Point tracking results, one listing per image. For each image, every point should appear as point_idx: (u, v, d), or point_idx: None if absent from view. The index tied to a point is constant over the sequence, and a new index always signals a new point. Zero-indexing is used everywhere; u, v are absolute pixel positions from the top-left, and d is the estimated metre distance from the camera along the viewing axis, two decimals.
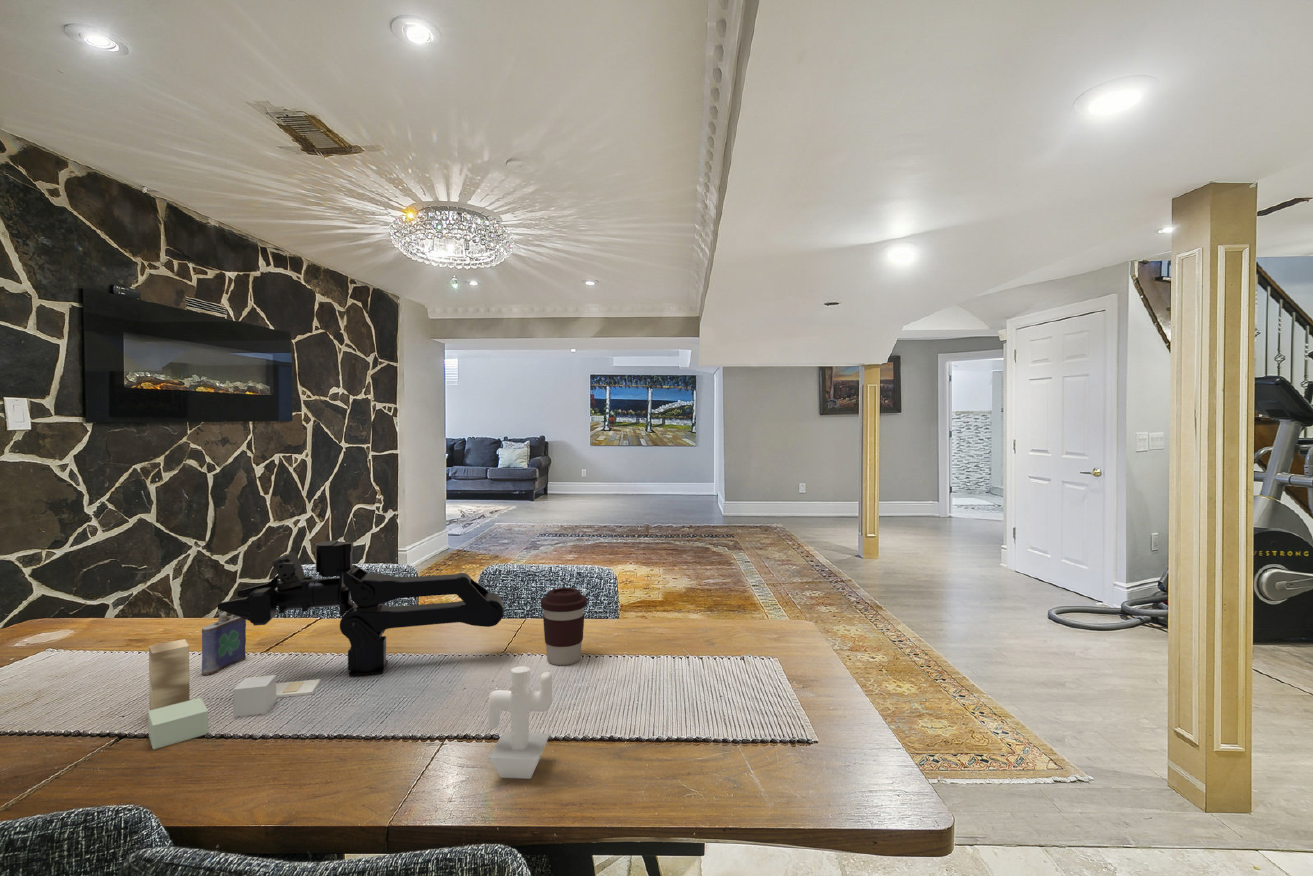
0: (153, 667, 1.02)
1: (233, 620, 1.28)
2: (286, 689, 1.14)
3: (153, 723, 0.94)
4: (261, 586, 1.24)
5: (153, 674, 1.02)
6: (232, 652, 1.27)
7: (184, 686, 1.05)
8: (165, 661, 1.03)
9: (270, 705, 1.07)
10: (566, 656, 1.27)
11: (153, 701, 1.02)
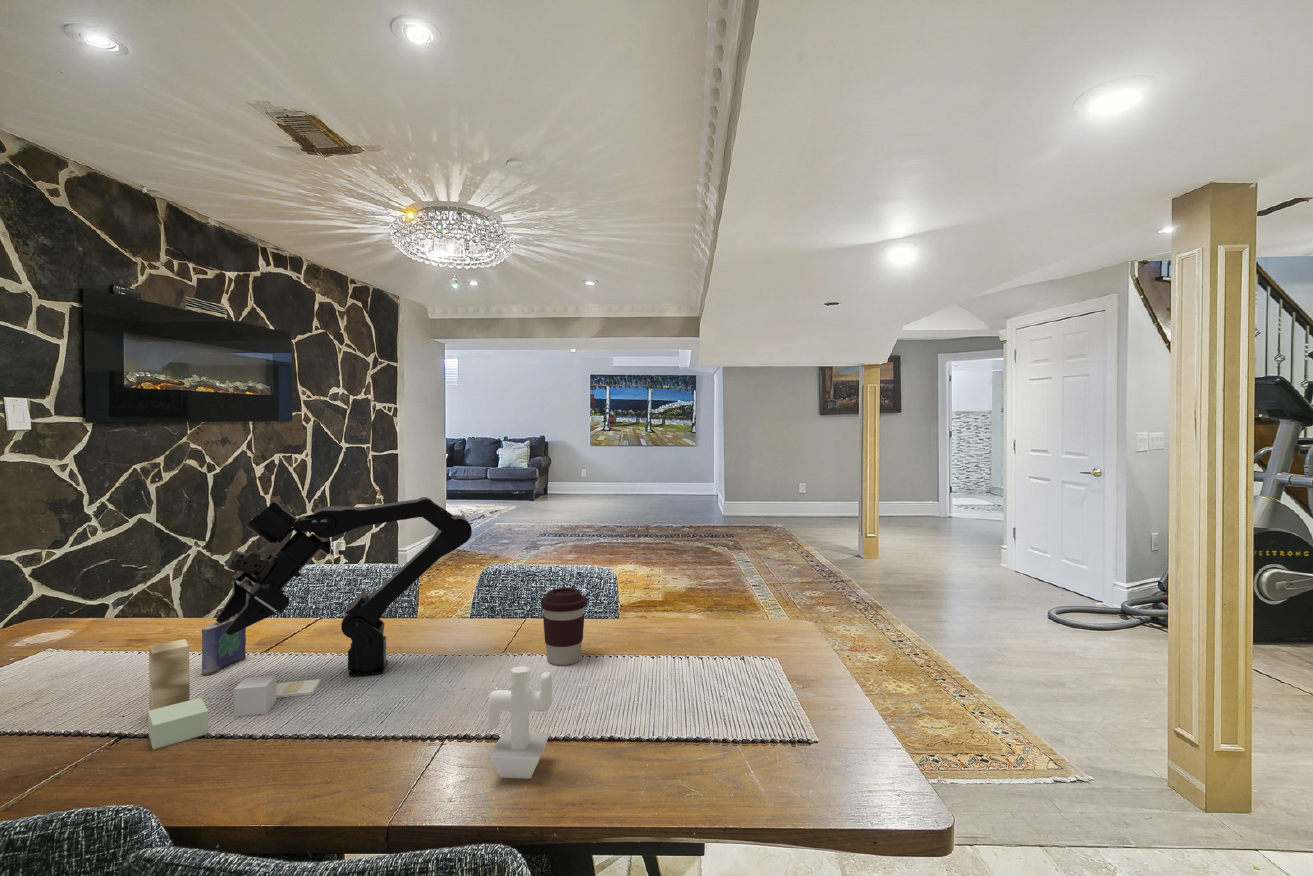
0: (153, 667, 1.02)
1: None
2: (286, 689, 1.14)
3: (153, 723, 0.94)
4: (231, 600, 1.16)
5: (153, 674, 1.02)
6: (232, 652, 1.27)
7: (184, 686, 1.05)
8: (165, 661, 1.03)
9: (270, 705, 1.07)
10: (566, 656, 1.27)
11: (153, 701, 1.02)
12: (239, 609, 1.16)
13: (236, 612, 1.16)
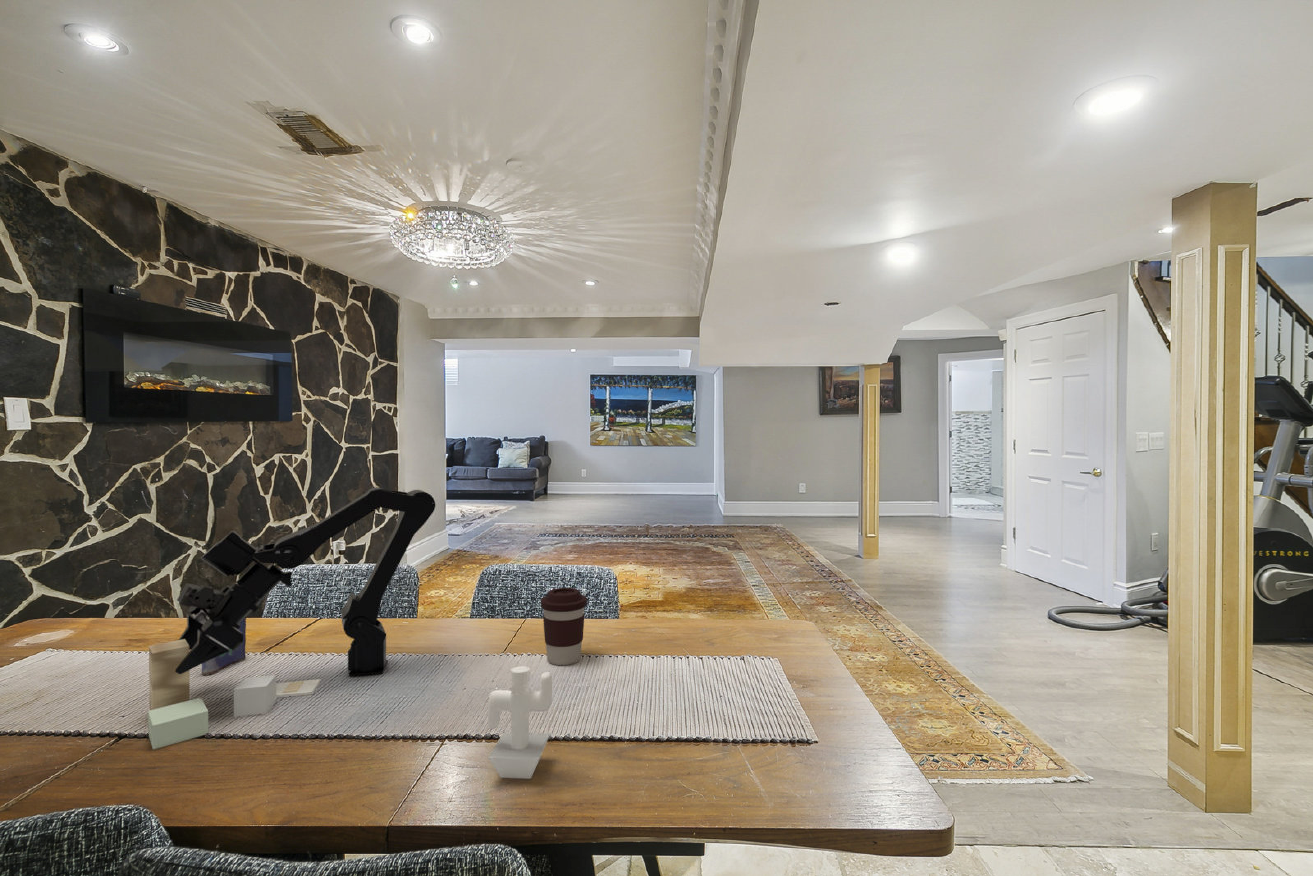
0: (153, 667, 1.02)
1: None
2: (286, 689, 1.14)
3: (153, 723, 0.94)
4: (185, 634, 1.11)
5: (153, 674, 1.02)
6: (232, 652, 1.27)
7: (184, 686, 1.05)
8: (165, 661, 1.03)
9: (270, 705, 1.07)
10: (566, 656, 1.27)
11: (153, 701, 1.02)
12: (193, 644, 1.11)
13: (190, 647, 1.11)
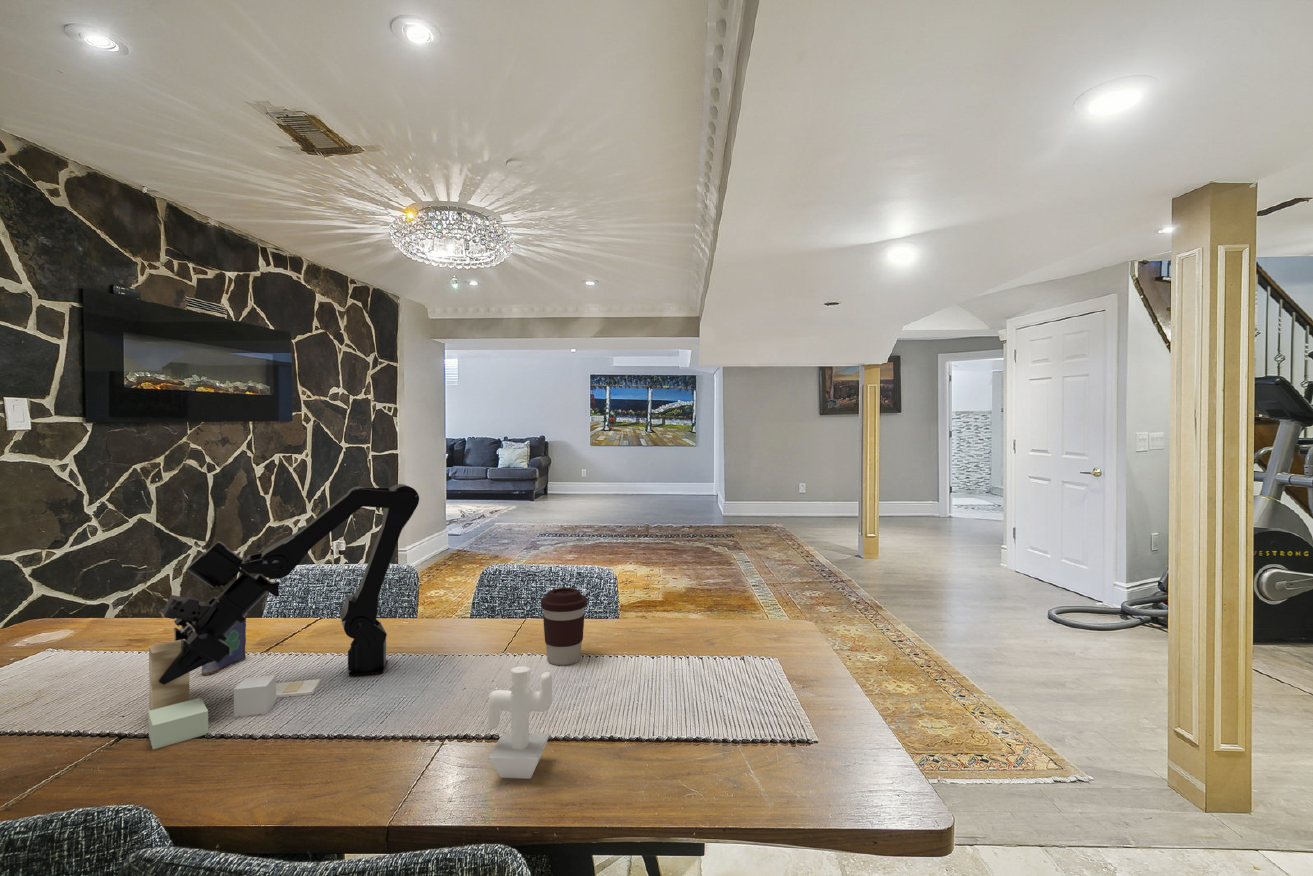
0: (153, 667, 1.02)
1: None
2: (286, 689, 1.14)
3: (153, 723, 0.94)
4: None
5: (153, 674, 1.02)
6: (232, 652, 1.27)
7: (184, 686, 1.05)
8: (165, 661, 1.03)
9: (270, 705, 1.07)
10: (566, 656, 1.27)
11: (153, 701, 1.02)
12: None
13: None
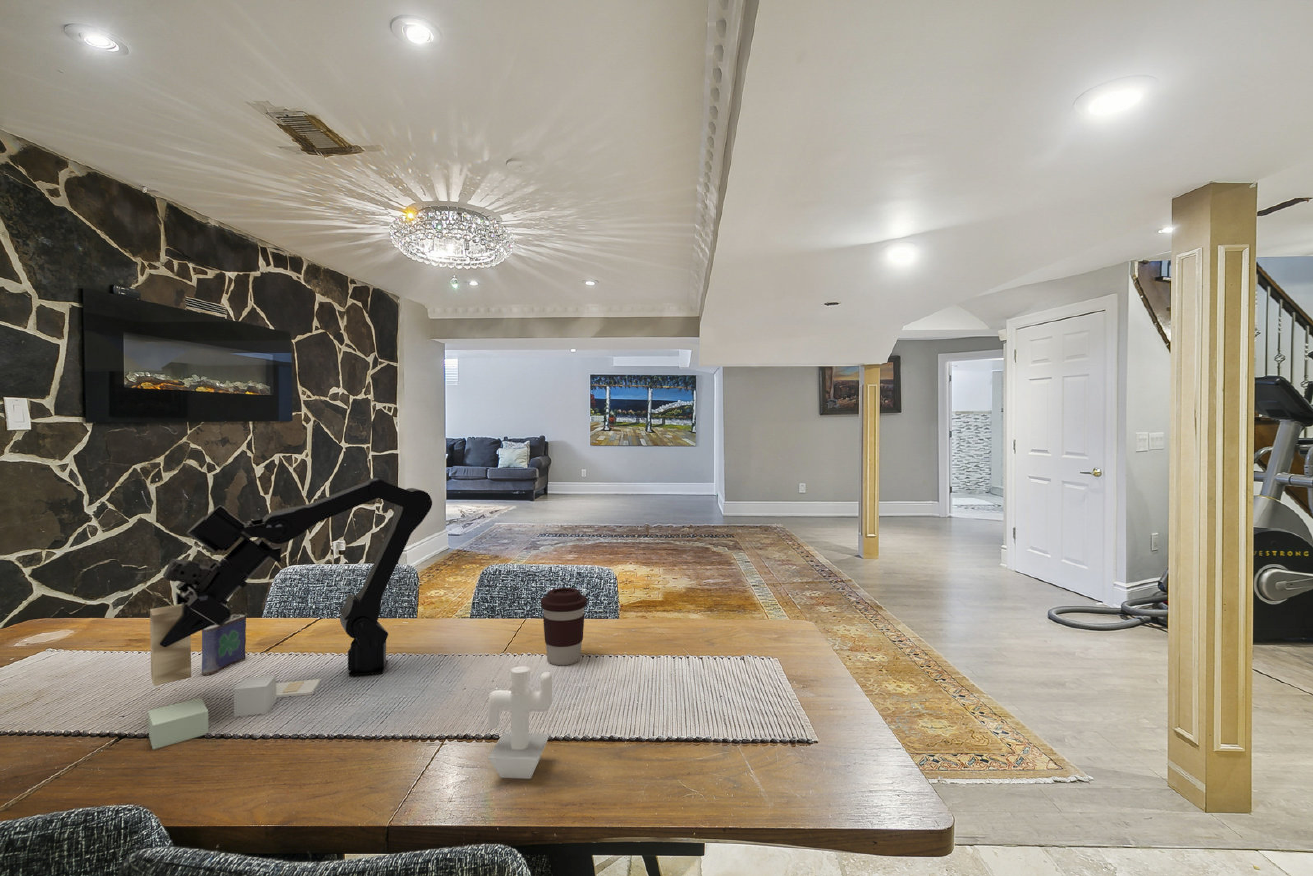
0: (154, 629, 1.01)
1: (233, 620, 1.28)
2: (286, 689, 1.14)
3: (153, 723, 0.94)
4: None
5: (154, 636, 1.01)
6: (232, 652, 1.27)
7: (185, 649, 1.04)
8: (166, 624, 1.02)
9: (270, 705, 1.07)
10: (566, 656, 1.27)
11: (154, 664, 1.01)
12: None
13: None
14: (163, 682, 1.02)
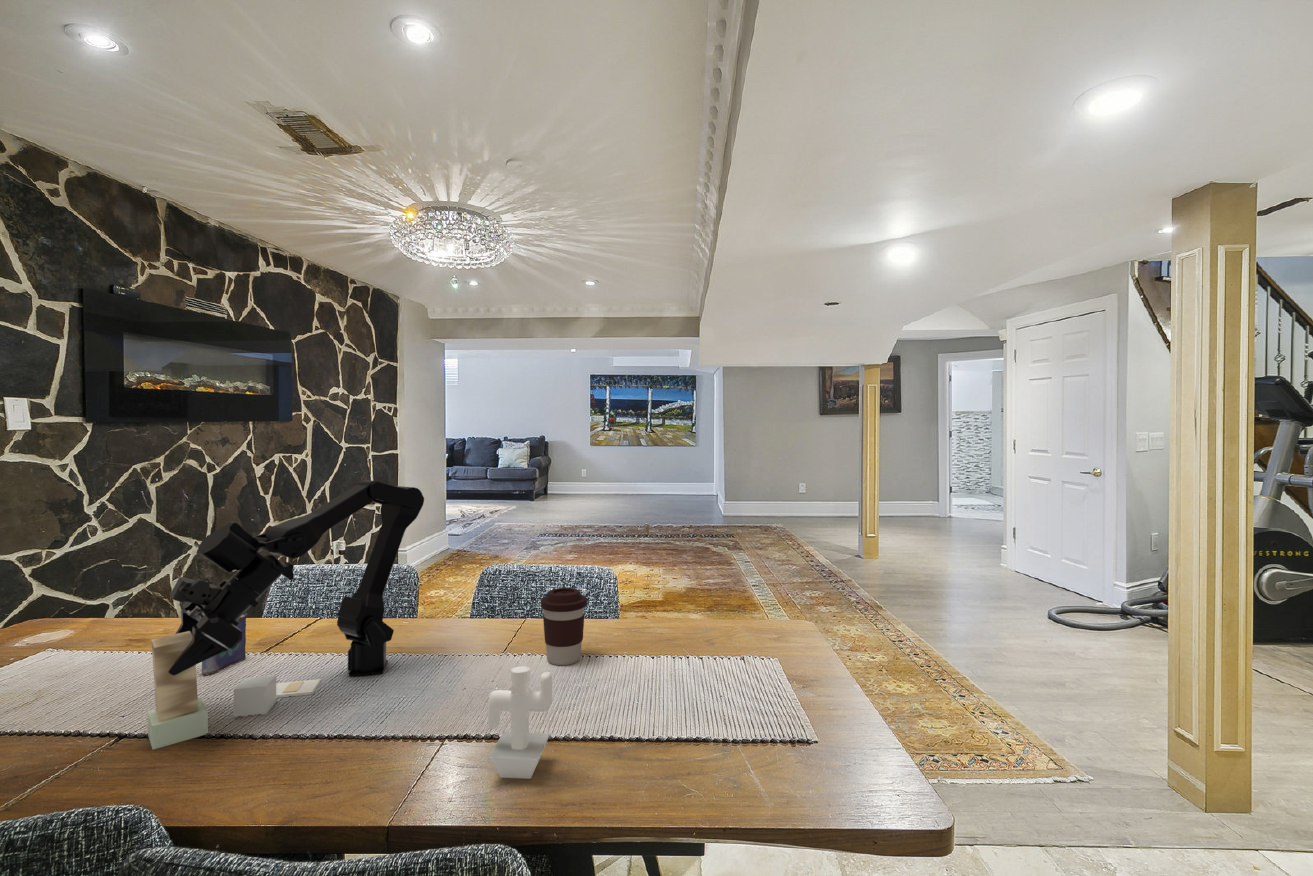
0: (156, 662, 0.94)
1: None
2: (286, 689, 1.14)
3: (152, 723, 0.94)
4: (179, 632, 1.02)
5: (156, 670, 0.94)
6: (232, 652, 1.27)
7: (191, 681, 0.97)
8: (169, 656, 0.95)
9: (270, 705, 1.07)
10: (566, 656, 1.27)
11: (158, 698, 0.95)
12: None
13: None
14: (169, 717, 0.96)
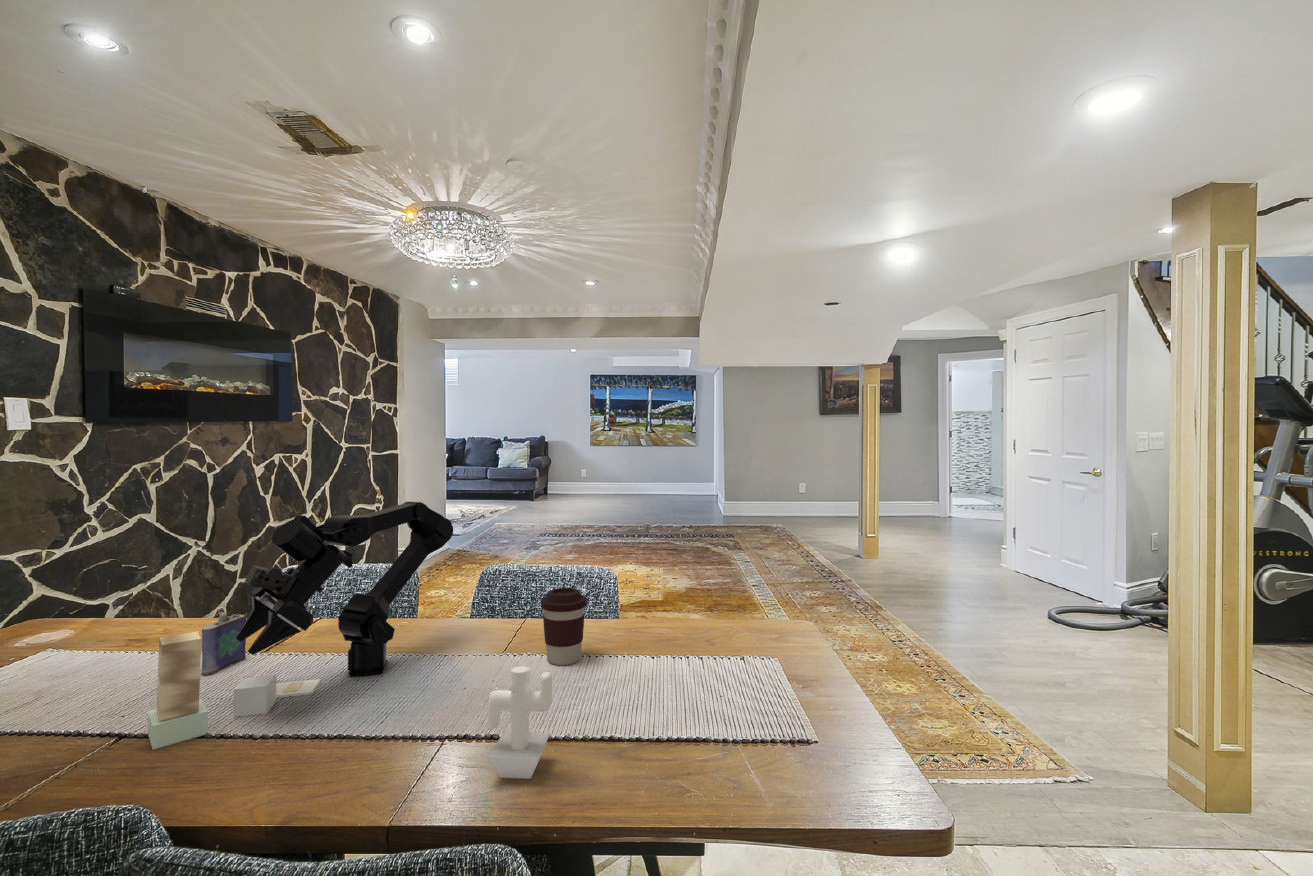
0: (162, 660, 0.95)
1: (233, 620, 1.28)
2: (286, 689, 1.14)
3: (153, 723, 0.94)
4: (251, 616, 1.11)
5: (162, 667, 0.95)
6: (232, 652, 1.27)
7: (194, 682, 0.98)
8: (175, 654, 0.96)
9: (270, 705, 1.07)
10: (566, 656, 1.27)
11: (161, 697, 0.95)
12: (259, 626, 1.11)
13: (256, 629, 1.11)
14: (169, 717, 0.95)
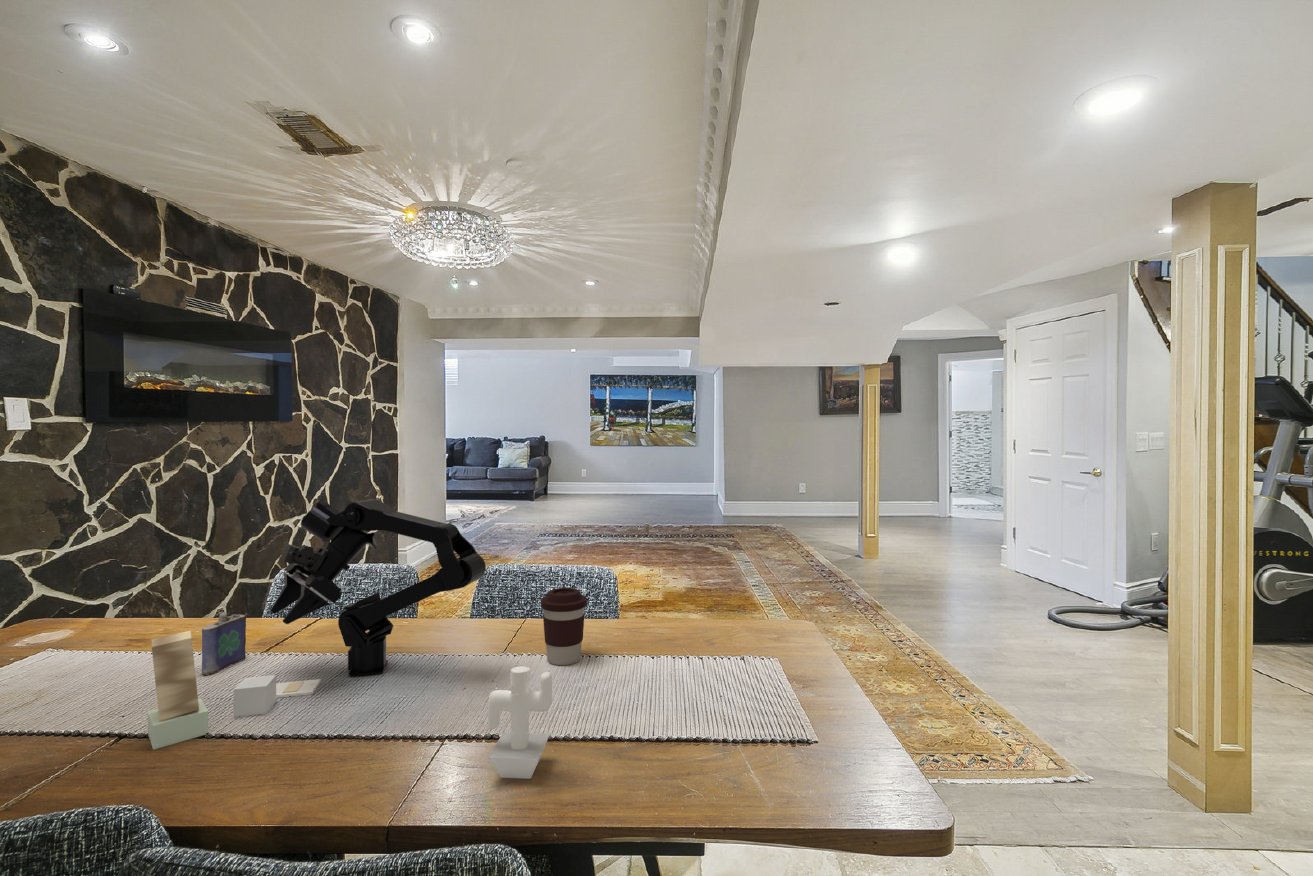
0: (154, 662, 0.94)
1: (233, 620, 1.28)
2: (286, 689, 1.14)
3: (153, 723, 0.94)
4: (284, 591, 1.21)
5: (155, 669, 0.94)
6: (232, 652, 1.27)
7: (190, 680, 0.97)
8: (167, 655, 0.95)
9: (270, 705, 1.07)
10: (566, 656, 1.27)
11: (158, 698, 0.95)
12: (291, 600, 1.22)
13: (288, 603, 1.21)
14: (169, 716, 0.96)
